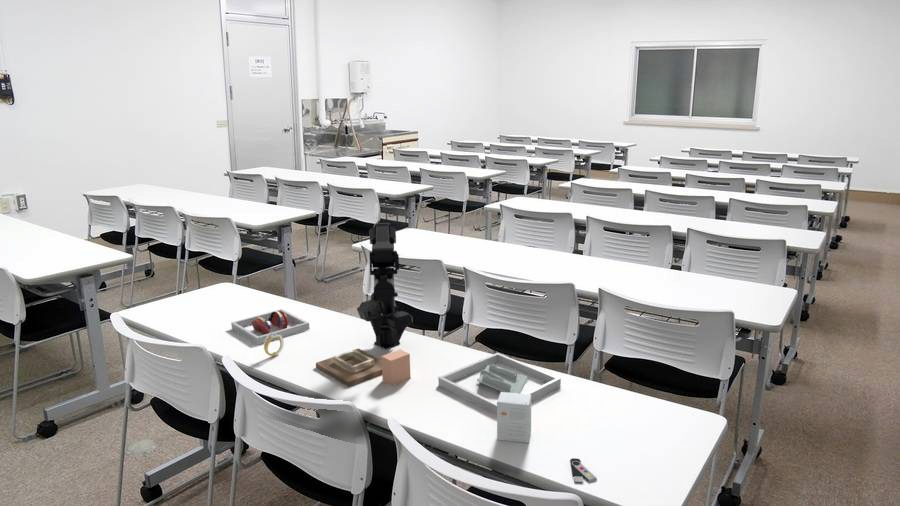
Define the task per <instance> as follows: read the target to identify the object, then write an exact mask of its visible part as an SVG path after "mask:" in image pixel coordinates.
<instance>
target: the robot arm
mask: <svg viewBox="0 0 900 506" xmlns="http://www.w3.org/2000/svg"><path fill="white" fill-rule="evenodd" d="M396 230H397V229H396V228H394V227H393V226H391V223H389V222H377V223H374V225H373V226H372V228H370V229H369V244H370V245H371V251H369V275H370V276H373V292H372V293H371V295H370V300H365V301H362V302H361V303H360V305H359V306H358V307H357V308H356V311H357V314H358V315H359V318H360V319H361V320H364V321H365V322H370V325H371V327H372V330H373V332H374V335H375V341H374V342H373V343H374V345H376V346H378V347H380V348H382V349H384V350H387V349H389V348H392V347H396V346H398V345H401V342H400V340H401V338H402V336H403V334H404V333H405V330H406V328H407V327H408V326H410V324H413V315H411V314H410V313H408V312H406V311H403V310H400V311H399V306H398V305H397V304H396V301H395V300H396V297H398V296H399V295H398V294H399V293H398V292H396V291H395V289H396V287H395V275H397V274H398V271H399V270H400V259H399V253H398V251H397V250H395V244H397V235H396V234H397V233H396V232H397V231H396Z"/></svg>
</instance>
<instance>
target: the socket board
mask: <svg viewBox="0 0 900 506" xmlns="http://www.w3.org/2000/svg"><path fill="white" fill-rule="evenodd" d="M315 368H316V369H318V370H319V371H322V372H323V373H324V374H327V375H328V376H330V377H331V378H334V379H335V380H337V381H338V382H340V383H341V384H343V385H345V386H346V387H352V386H354V385H357V384H359V383H360V384H361V383H362V382H364V381H365V382H366V381H367V380H370V379H372V378H375V377H378V376H380V375H381V376H382V359H380V358H378V357H376V356H374V355H373V354H370V353H368V352H366V351H364V350H362V349H360V348H359V347H357V348H355V349H352V350H348V351H346V352H343V353H340V354H337V355H335V356H331V357H329V358H326V359H324V360H320V361H317V362H315Z"/></svg>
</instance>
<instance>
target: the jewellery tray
mask: <svg viewBox="0 0 900 506" xmlns="http://www.w3.org/2000/svg"><path fill="white" fill-rule="evenodd" d="M274 311H278V312H284V313H286V315H287V318H288V321H289V320H290V321H289V322H291V321H292V322H291V323H293V322H294V323H293V324H295V323H296V324H298V325H296V324H295V325H294V326H290V327H287V328H286V329H280V330H276V331H271V332H272V333H275V332H277V334H278V335H281V336H282V338H283V339H284V338H285V337H289V336H292V334H293V335H296V334H299V333H302V332H306V331H309V330H310V322H308V321H307V320H304V319H303V318H301V317H298V316H297V315H295V314H292V313H291V312H288V311H287V310H285V309H282V308H279V309H277V310H272V311H269V312H265V313H262V314H258V315H254V316H251V317H246V318H242V319H239V320H235V321H232V322H230V324H231V330H233V331H235V332H236V333H238V334H239V335H241V336H242V337H244V338H246V339H247V340H249V341H251V343H254V344H255V345H257V346H259V345H264V342H265V339H266V337H267V336H268V335H269V334H270V333H271V332H270V333H269V334H265V335H264V334H261V335H259V336H258V335H257V334H255V333H253V332H252V331H250V330H248V329H246V328H245V327H249V326H251V324H252V321H255V320H256V319H257V317H262V318H263V319H265V320H266V321H268V319H269V317H270V315H271V314H272V312H274ZM308 329H309V330H308ZM305 330H306V331H305ZM295 333H296V334H295ZM277 334H276V335H277ZM269 339H270V338H269ZM269 339H268V340H269ZM275 340H279V339H278V338H277V337H275V338H273V340H272V341H275ZM272 341H271V342H272Z"/></svg>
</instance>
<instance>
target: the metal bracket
mask: <svg viewBox="0 0 900 506" xmlns="http://www.w3.org/2000/svg"><path fill="white" fill-rule="evenodd" d="M479 372H480V374H479V377H478V378H477V379H476V381H477V383H478V387H479V386H480V385H481V384H483V385H485V386H486V387H487V386H488V387H490V388H492V389H495V390H497V391H499V392H507V393H519V394H521V393H522V390H523V388H524V386H525V385H526V384H527V383H528V381H529V378H528V376H526V375H524V374H521V373H518V374H517V373H516V372H514V371H512V370H509V369H506V368H502V367H498V366H496V365H495V363H494V364H491V365H487V367H485V368H482V369H480V371H479Z"/></svg>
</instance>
